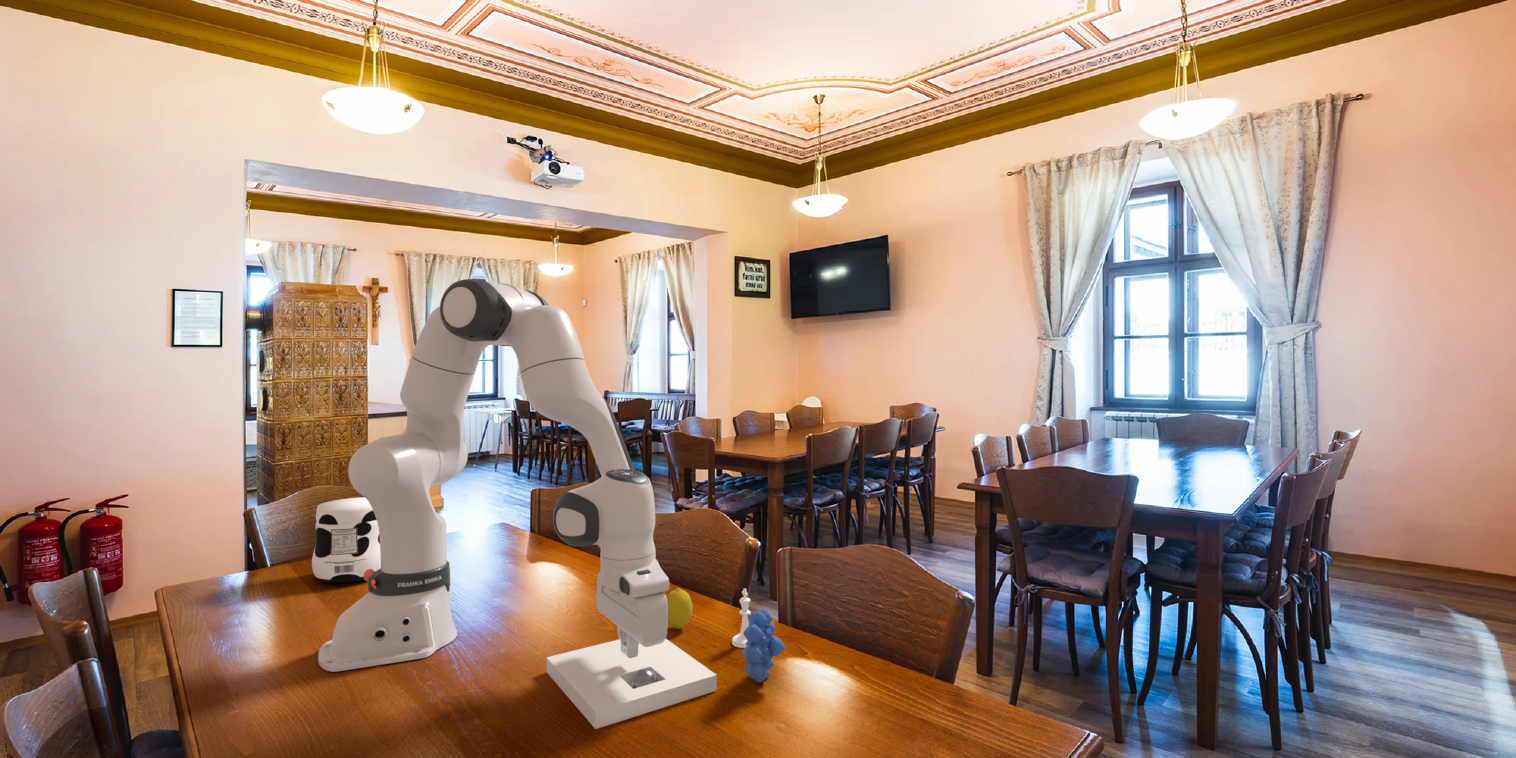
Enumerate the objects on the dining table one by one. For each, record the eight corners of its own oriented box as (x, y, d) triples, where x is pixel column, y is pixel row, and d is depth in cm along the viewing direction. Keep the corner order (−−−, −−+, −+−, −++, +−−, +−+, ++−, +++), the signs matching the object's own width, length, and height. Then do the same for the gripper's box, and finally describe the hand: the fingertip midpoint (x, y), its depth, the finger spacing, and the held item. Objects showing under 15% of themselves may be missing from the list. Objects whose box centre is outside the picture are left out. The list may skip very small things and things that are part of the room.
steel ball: (635, 704, 105) (638, 679, 105) (626, 690, 109) (628, 666, 108) (659, 698, 108) (662, 674, 107) (649, 684, 111) (652, 661, 110)
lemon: (687, 635, 131) (687, 593, 131) (660, 633, 132) (659, 591, 132) (696, 624, 137) (695, 584, 137) (669, 622, 138) (669, 582, 138)
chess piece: (739, 650, 125) (738, 595, 124) (727, 640, 129) (727, 587, 129) (763, 644, 127) (763, 590, 127) (751, 635, 131) (750, 583, 131)
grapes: (776, 701, 106) (776, 623, 105) (734, 695, 107) (734, 619, 107) (793, 669, 117) (793, 598, 116) (755, 664, 119) (755, 594, 118)
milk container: (374, 562, 181) (372, 493, 180) (408, 573, 171) (406, 501, 170) (299, 579, 167) (298, 504, 166) (332, 593, 157) (330, 514, 156)
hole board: (595, 729, 98) (595, 711, 98) (546, 672, 116) (546, 657, 116) (716, 690, 109) (716, 674, 109) (654, 644, 127) (654, 630, 127)
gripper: (586, 558, 119) (587, 638, 120) (636, 590, 102) (637, 683, 103) (620, 552, 123) (621, 630, 123) (674, 582, 106) (675, 671, 106)
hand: (629, 654), depth 113 cm, fingers closed
